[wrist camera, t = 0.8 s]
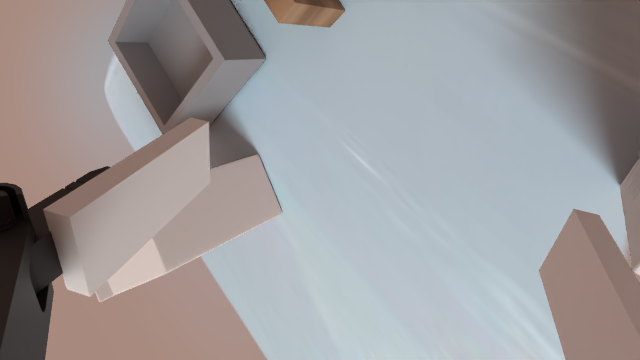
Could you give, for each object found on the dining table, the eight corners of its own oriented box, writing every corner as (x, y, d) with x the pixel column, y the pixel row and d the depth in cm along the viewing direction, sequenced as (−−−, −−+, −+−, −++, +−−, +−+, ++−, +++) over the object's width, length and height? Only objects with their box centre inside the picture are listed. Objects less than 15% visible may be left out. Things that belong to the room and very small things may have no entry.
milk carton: (259, 153, 43) (80, 208, 28) (283, 212, 44) (119, 298, 29) (221, 171, 48) (48, 227, 33) (243, 225, 48) (83, 305, 33)
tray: (152, 41, 48) (107, 41, 44) (200, -45, 40) (152, -57, 36) (205, 130, 47) (165, 138, 42) (266, 59, 39) (224, 60, 35)
